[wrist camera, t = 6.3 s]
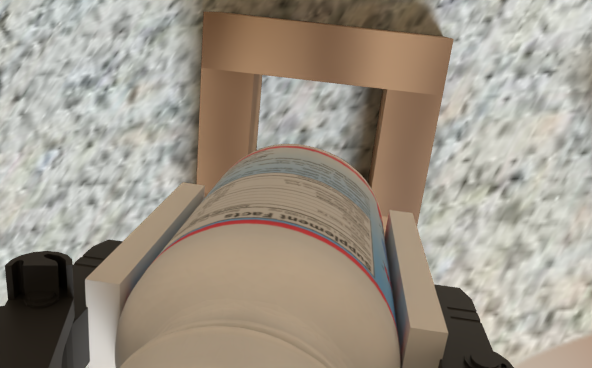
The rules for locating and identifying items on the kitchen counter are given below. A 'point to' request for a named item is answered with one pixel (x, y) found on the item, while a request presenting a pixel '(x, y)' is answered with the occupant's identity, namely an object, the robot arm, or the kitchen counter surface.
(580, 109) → the kitchen counter surface
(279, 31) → the socket block
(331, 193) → the pill bottle
